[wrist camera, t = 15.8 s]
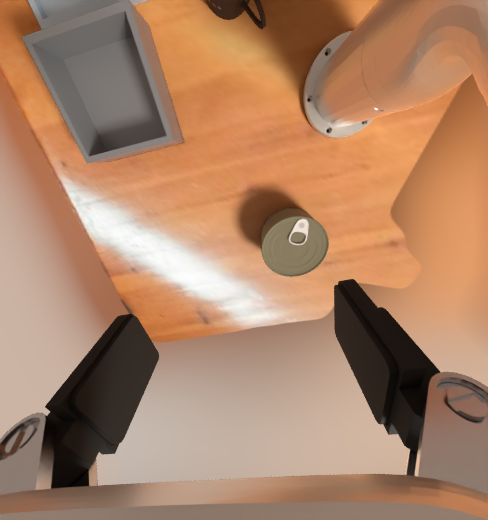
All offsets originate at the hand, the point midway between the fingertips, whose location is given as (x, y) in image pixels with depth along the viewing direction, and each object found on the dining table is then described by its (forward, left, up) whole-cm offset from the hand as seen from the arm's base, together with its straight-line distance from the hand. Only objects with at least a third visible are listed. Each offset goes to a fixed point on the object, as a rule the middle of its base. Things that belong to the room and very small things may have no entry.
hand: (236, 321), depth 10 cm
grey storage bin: (+16, -18, -33) cm, 41 cm away
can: (-7, +10, -34) cm, 36 cm away
